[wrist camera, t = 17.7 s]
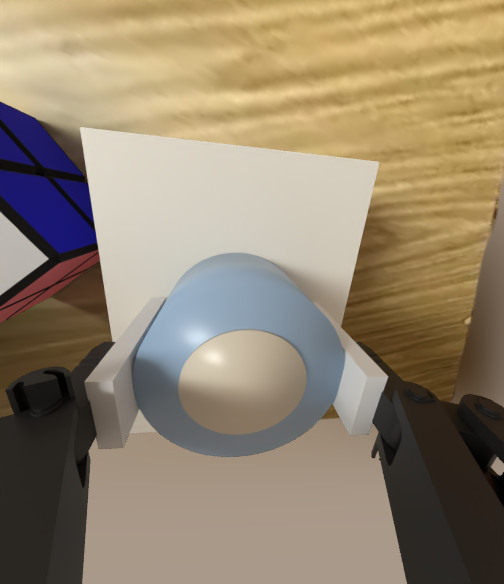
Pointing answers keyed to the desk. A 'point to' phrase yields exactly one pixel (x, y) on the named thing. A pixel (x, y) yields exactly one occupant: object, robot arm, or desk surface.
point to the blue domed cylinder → (237, 360)
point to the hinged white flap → (220, 216)
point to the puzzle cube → (39, 215)
